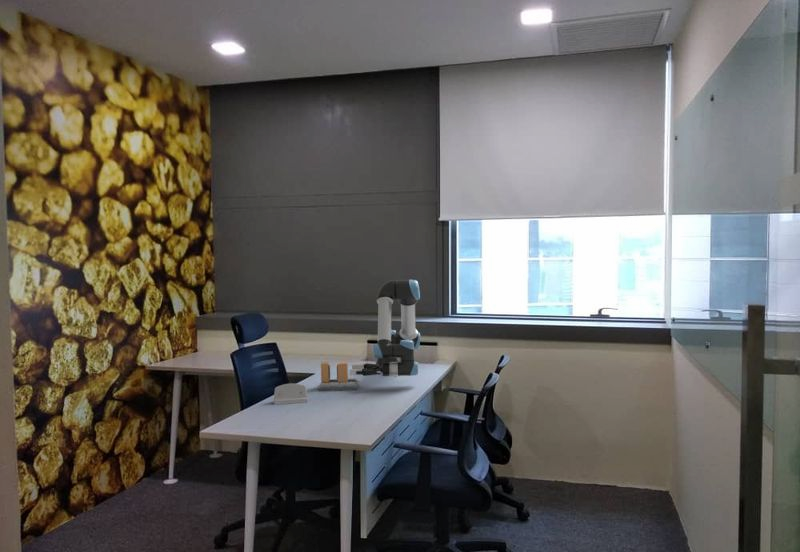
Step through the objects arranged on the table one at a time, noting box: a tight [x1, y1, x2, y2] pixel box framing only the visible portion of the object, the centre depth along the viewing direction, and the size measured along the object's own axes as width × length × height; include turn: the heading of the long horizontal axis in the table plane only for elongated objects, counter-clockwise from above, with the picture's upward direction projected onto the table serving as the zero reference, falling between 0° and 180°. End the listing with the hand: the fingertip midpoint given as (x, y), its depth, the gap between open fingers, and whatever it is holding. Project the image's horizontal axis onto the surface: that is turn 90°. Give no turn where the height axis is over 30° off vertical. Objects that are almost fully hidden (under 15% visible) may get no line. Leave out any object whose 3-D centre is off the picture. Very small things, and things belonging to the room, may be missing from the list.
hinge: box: [273, 383, 308, 406], centre depth 286 cm, size 17×5×10 cm, turn 100°
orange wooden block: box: [336, 361, 349, 382], centre depth 312 cm, size 5×6×12 cm
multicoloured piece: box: [318, 361, 359, 392], centre depth 312 cm, size 14×20×14 cm
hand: (350, 369), depth 312 cm, fingers open, 13 cm apart
